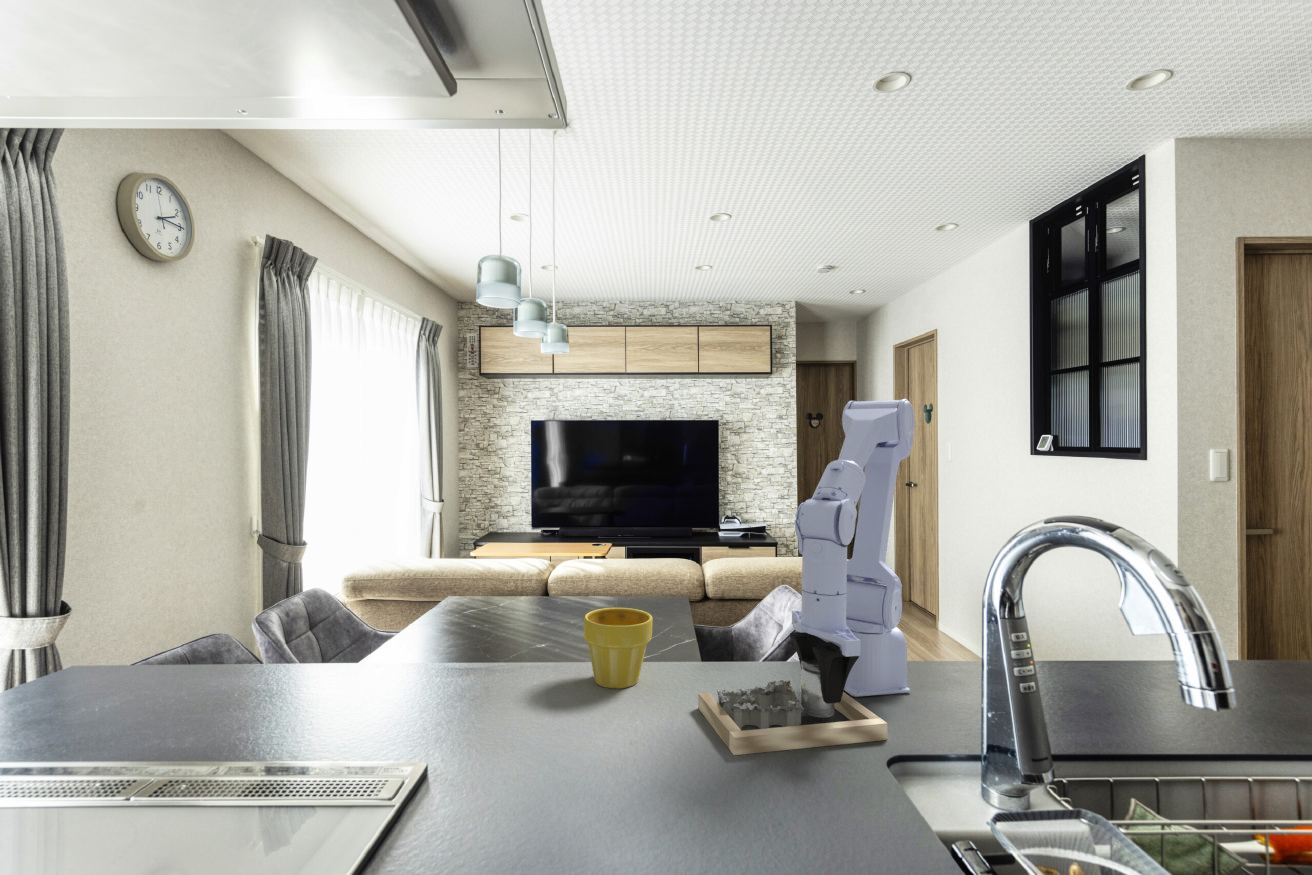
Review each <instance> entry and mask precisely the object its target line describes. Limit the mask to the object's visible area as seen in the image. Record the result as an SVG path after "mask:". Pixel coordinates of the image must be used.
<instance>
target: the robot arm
mask: <svg viewBox="0 0 1312 875" xmlns="http://www.w3.org/2000/svg"><path fill="white" fill-rule="evenodd" d="M841 416H842V417H841V421H842V422H841V424H842V428H843V432H844V436H845V438H844V440H843V443H842V447H841V448H840V452H839V456H838V459H836V460H832V461H831V462H829V463H828V464H827V465H826V468H825V469H824V471H823V473H822V476H821V478H820V480H819V482H818V484H817V486H816V487H815V490H814V492H813V494H812V495H811V496H812V497H811V498H808V499H806V500H805V501H804V502H801V503H800V504H799V506H798V507H797V510H796V514H795V519H794V531H795V534H796V537H797V543H798V545H797V546H798V552H799V554H800V555H802V559H801V560H802V561H801V562H802V563H801V564H802V567H801V568H802V569H801V570H802V572H801V610H792V611H791V625H793V628H792V629H793V630H795V632H790V633H789V638H790V640H791V643H792V645H793V646H794V649H795V651H796V654H797V657H798V660H799V661H798V662H799V665H800V669H801V671H802V667H801V661H802V660H803V659H805V658H816V659H817V662H818V666H819V670H820V676H821V688H822V696H823V700H824V702H825V703H827V704H829V703H840V702H841V699H842V695H843V692H844V691H845V693H848V694H849V696H852V697H855V698H857V697H869V696H882V695H892V694H905V693H911V689H910V688H909V687H908V685H907V684H908V645H907V641H906V638H905V635H904V634H903V631H901V629H900V628H899V627H898V625H899V623H900V621H901V617H902V613H903V612H902V611H903V599H902V591H903V590H902V588H903V585H902V581H901V579H900V577H899V576H898V575H897V574H896V573H895V572H894V571H893V570H892V569H891V568H890V567H889V566H888V565H886V557H887V551H888V543H889V535H890V528H891V521H892V514H893V506H894V505H893V504H894V498H895V491H896V490H895V489H896V485H897V484H896V483H897V476H898V471H899V466H900V462H901V461H903V460H905V459H906V458H908V457H910V456H911V450H912V448H913V444H914V443H913V442H914V434H915V424H916V423H915V422H916V421H915V410H914V407H913V405H912V403H911V402H910V401H909V399H907V398H903V399H895V400H893V399H891V400H867V401H866V400H864V401H862V400H861V401H856V400H849V401H848V402H847V403H846V405H845V406H844V407H843V411H842V415H841ZM864 467H865V470H864ZM863 470H864V471H863ZM860 497H861V498H860ZM859 499H860V504H859V510H858V511H857V504H858V502H859ZM857 515H858V516H857ZM857 517H858V518H857ZM856 519H857V521H856ZM856 522H857V523H856ZM854 535H855V536H854ZM853 538H854V543H853V551H852V557H851V558H850V559H848V545H850V543H851V542H852V540H853Z"/></svg>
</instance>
